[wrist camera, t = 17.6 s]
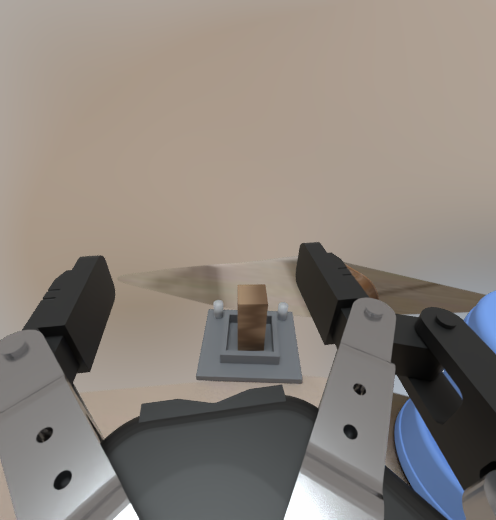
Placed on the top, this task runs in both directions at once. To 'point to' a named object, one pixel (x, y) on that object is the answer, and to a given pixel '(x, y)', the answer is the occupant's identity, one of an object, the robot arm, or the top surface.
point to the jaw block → (252, 317)
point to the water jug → (423, 444)
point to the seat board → (249, 362)
